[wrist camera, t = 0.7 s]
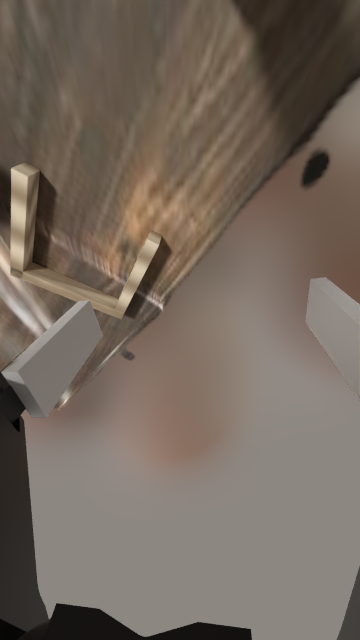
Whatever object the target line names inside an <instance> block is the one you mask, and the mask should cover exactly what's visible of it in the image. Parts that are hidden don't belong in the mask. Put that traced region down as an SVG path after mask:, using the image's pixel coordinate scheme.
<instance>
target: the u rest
mask: <svg viewBox="0 0 360 640" xmlns="http://www.w3.org/2000/svg"><path fill="white" fill-rule="evenodd" d="M39 176H40V170H38V169H36V168H34V167H33V166H31V165H29V164H27V163H25V162H24V163H22V164H20V165H18V166H15V167H13V168H11V275H12V276H14V277H17V278H19V279H22V280H24V281H27V282H29V283H32V284H34V285H37V286H39V287H42V288H44V289H47V290H49V291H52V292H54V293H57V294H59V295H62V296H64V297H67V298H69V299H72V300H74V301H77V302H78V301H85V300H90V302H91V305H92V307H93V308H94V309H97V310H99V311H102V312H104V313H107V314H109V315H112V316H114V317H117V318H119V319H121V318H122V316H123V314H124V313H125V311H126V309H127V307H128V305H129V303H130V301H131V299H132V297H133V295H134V293H135V291H136V289H137V287H138V285H139V283H140V281H141V279H142V278H143V276H144V274H145V272H146V270H147V268H148V266H149V264H150V262H151V260H152V258H153V256H154V254H155V252H156V250H157V248H158V246H159V244H160V240H161V237H162V236H161V235H160V234H158V233H156V232H154V231H152V230H150V232H149V234H148V237H147V239H146V241H145V243H144V245H143V247H142V250H141V252H140V254H139V256H138V258H137V260H136V263H135V265H134V267H133V269H132V271H131V273H130V276H129V278H128V280H127V282H126V284H125V286H124V289H123V291H122V293H121V295H120V297H119V299H118V298H115V297H113V296H111V295H108V294H106V293H103V292H101V291H99V290H96V289H94V288H92V287H89V286H87V285H85V284H82V283H80V282H78V281H75V280H73V279H71V278H68V277H66V276H64V275H61V274H59V273H56V272H54V271H52V270H49V269H47V268H45V267H42V266H40V265H38V264H35V263H33V262H32V257H33V246H34V234H35V223H36V211H37V199H38V188H39Z"/></svg>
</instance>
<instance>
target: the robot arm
mask: <svg viewBox="0 0 360 640" xmlns="http://www.w3.org/2000/svg"><path fill="white" fill-rule="evenodd" d="M305 323H306V324H307V326H308V327H309V329H310V330H311V331H312V333H313V334H314V336H315V337H316V339H317V340H318V342H319V343H320V344H321V346H322V347H323V348H324V350H325V352H326V353H327V354H328V356H329V357H330V359H331V360H332V362H333V363H334V365H335V366H336V367H337V369H338V370H339V372H340V373H341V375H342V376H343V378H344V379H345V381H346V382H347V383H348V385H349V386H350V388H351V389H352V391H353V392H354V394H355V395H356V396H357V398H358V399H359V401H360V305H359V304H358V303H357V302H356V301H354V300H353V299H352V298H351V297H349V296H348V295H347V294H345V293H344V292H343V291H342V290H341V289H339V288H338V287H337V286H336V285H334V284H333V283H332V282H331V281H329V280H328V279H327V278H314V279H310V287H309V296H308V303H307V311H306V319H305ZM102 337H103V335H102V332H101V329H100V327H99V324H98V321H97V318H96V316H95V313H94V310H93V307H92V305H91V302H90V300H85V301H78V302H77V303H76V304H75V305H74V306H73V307H72V308H71V309H70V310H69V311H67V312H66V313H65V314H64V315H63V316H62V317H61V318H60V319H59V320H58V321H57V322H55V323H54V324H53V325H52V326H51V327H50V328H49V329H48V330H47V331H46V332H44V333H43V334H42V335H41V336H40V337H39V338H38V339H37V340H36V341H35V342H33V343H32V344H31V345H30V346H29V347H27V348H26V349H25V350H24V351H23V352H22V353H20V355H18V356H17V357H16V358H15V359H14V361H12V362H11V363H9V364H8V365H7V366H6V367H5V368H4V369H3V370H2V371H1V372H0V640H252V637H251V629H246V628H239V627H231V626H224V625H216V624H208V623H201V622H197V623H193V624H190V625H187V626H184V627H180V628H177V629H173V630H170V631H166V632H163V633H159V634H156V635H153V636H149V637H143V636H140V635H138V634H137V633H135V632H134V631H132V630H131V629H129V628H128V627H126V626H124V625H123V624H122V623H120V622H118V621H117V620H115V619H114V618H112V617H111V616H109V615H108V614H106V613H105V612H103V611H102V610H100V609H96V608H88V607H81V606H73V605H66V604H58V603H57V604H56V606H55V609H54V612H53V615H52V617H51V619H48V615H47V611H46V607H45V605H44V603H43V601H42V598H41V596H40V593H39V590H38V584H37V573H36V561H35V549H34V536H33V525H32V512H31V500H30V488H29V476H28V464H27V452H26V440H25V427H24V420H23V418H22V417H21V414H22V412H23V411H24V410H25V409H26V410H27V411H28V413H29V414H30V416H31V417H32V418H46V417H47V416H48V415H49V413H50V412H51V410H52V409H53V408H54V406H55V405H56V403H57V402H58V400H59V399H60V397H61V396H62V394H63V393H64V392H65V390H66V389H67V387H68V386H69V384H70V383H71V381H72V380H73V379H74V377H75V376H76V374H77V373H78V371H79V370H80V368H81V367H82V366H83V364H84V363H85V361H86V360H87V358H88V357H89V355H90V354H91V352H92V351H93V350H94V348H95V347H96V345H97V344H98V342H99V341H100V339H101V338H102ZM337 640H360V567H359V571H358V574H357V577H356V581H355V584H354V587H353V590H352V594H351V597H350V601H349V604H348V608H347V611H346V614H345V618H344V621H343V624H342V627H341V630H340V633H339V635H338V638H337Z"/></svg>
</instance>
